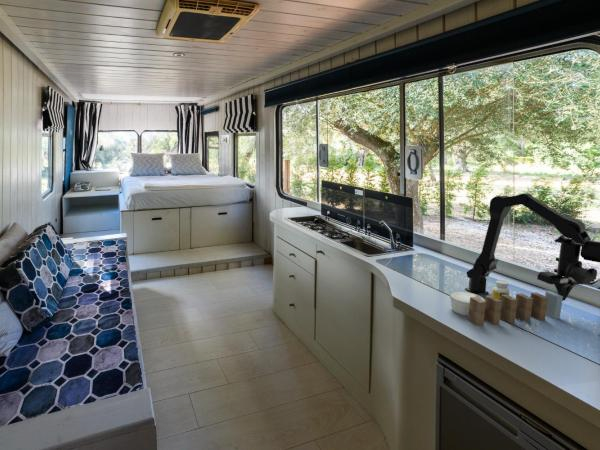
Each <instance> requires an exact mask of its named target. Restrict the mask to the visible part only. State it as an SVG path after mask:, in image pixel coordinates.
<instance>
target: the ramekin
mask: <svg viewBox="0 0 600 450" xmlns="http://www.w3.org/2000/svg"><path fill="white" fill-rule="evenodd" d="M449 297H450V307H451V309H452V310H453V311H454V313H456V314H459V315H463V316H467V317H468V314H469V304H470V297H477V298H479V299H481V300H483V301H485V300H486V299H485V298H484V297H482V296H480V294H473V293H471V292H469V291H468V292H465V291H464V292H463V291H455V292H452V293H450V296H449Z"/></svg>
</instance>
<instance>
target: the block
mask: <svg viewBox="0 0 600 450" xmlns="http://www.w3.org/2000/svg"><path fill="white" fill-rule="evenodd" d="M544 296H546V297H548V301H547V309H546V316H548V317H550V318H551V319H553V320H558V319H561V312H562V306H563V305H562V304H563V301H562V299H563V296H561V295H559V294H558V293H555V292H554V291H545V294H544Z"/></svg>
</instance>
